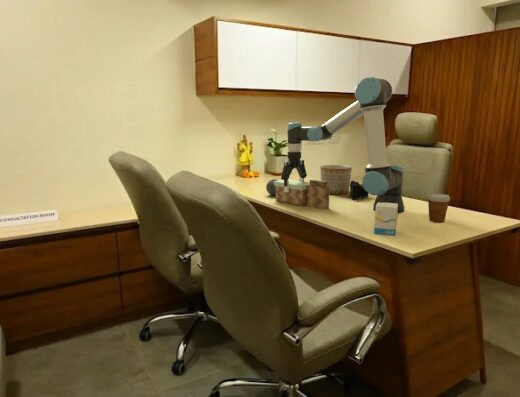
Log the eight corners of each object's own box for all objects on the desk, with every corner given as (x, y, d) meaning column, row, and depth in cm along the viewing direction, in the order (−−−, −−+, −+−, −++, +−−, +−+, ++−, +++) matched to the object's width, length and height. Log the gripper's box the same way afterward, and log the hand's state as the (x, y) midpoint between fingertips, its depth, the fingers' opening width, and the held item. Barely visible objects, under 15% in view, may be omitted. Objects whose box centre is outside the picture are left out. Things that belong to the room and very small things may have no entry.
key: (327, 186, 204) (327, 181, 204) (324, 186, 203) (324, 182, 202) (312, 184, 211) (312, 179, 211) (309, 184, 210) (309, 180, 209)
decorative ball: (264, 196, 239) (264, 180, 237) (268, 193, 248) (268, 177, 246) (280, 197, 236) (280, 180, 234) (284, 194, 245) (284, 178, 243)
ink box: (395, 235, 159) (397, 207, 156) (373, 233, 162) (375, 205, 159) (396, 230, 166) (398, 203, 164) (375, 228, 169) (377, 201, 167)
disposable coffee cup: (421, 221, 180) (423, 195, 177) (430, 217, 186) (432, 192, 184) (443, 225, 173) (445, 198, 171) (451, 221, 180) (454, 195, 177)
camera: (369, 200, 225) (370, 183, 223) (350, 200, 226) (351, 183, 224) (366, 196, 238) (367, 179, 236) (348, 195, 240) (349, 179, 238)
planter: (317, 194, 244) (317, 168, 240) (322, 189, 262) (323, 164, 258) (348, 196, 238) (349, 169, 234) (352, 190, 255) (353, 165, 252)
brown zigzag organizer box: (332, 207, 208) (333, 186, 205) (321, 210, 202) (322, 188, 200) (286, 198, 232) (286, 179, 230) (275, 200, 226) (275, 181, 224)
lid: (315, 187, 216) (315, 183, 216) (301, 190, 209) (301, 185, 208) (287, 183, 231) (287, 179, 231) (273, 185, 224) (273, 181, 224)
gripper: (303, 149, 227) (303, 187, 231) (274, 152, 211) (274, 192, 216) (313, 150, 221) (312, 188, 225) (284, 153, 206) (284, 194, 210)
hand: (294, 190), depth 221 cm, fingers closed on lid, 11 cm apart
